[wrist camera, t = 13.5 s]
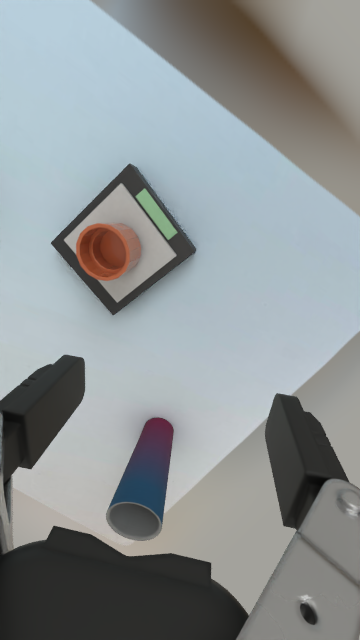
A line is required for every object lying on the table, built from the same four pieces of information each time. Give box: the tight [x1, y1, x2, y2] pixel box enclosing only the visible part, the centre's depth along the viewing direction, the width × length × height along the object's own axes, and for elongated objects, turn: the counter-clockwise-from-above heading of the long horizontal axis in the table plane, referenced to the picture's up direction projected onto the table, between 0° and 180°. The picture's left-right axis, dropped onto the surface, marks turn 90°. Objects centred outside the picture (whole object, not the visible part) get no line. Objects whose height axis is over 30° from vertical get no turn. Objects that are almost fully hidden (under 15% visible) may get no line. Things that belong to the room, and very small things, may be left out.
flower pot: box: [76, 222, 141, 281], centre depth 30 cm, size 6×6×5 cm
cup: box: [106, 418, 174, 541], centre depth 39 cm, size 7×7×15 cm
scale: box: [51, 164, 196, 315], centre depth 34 cm, size 14×12×3 cm
